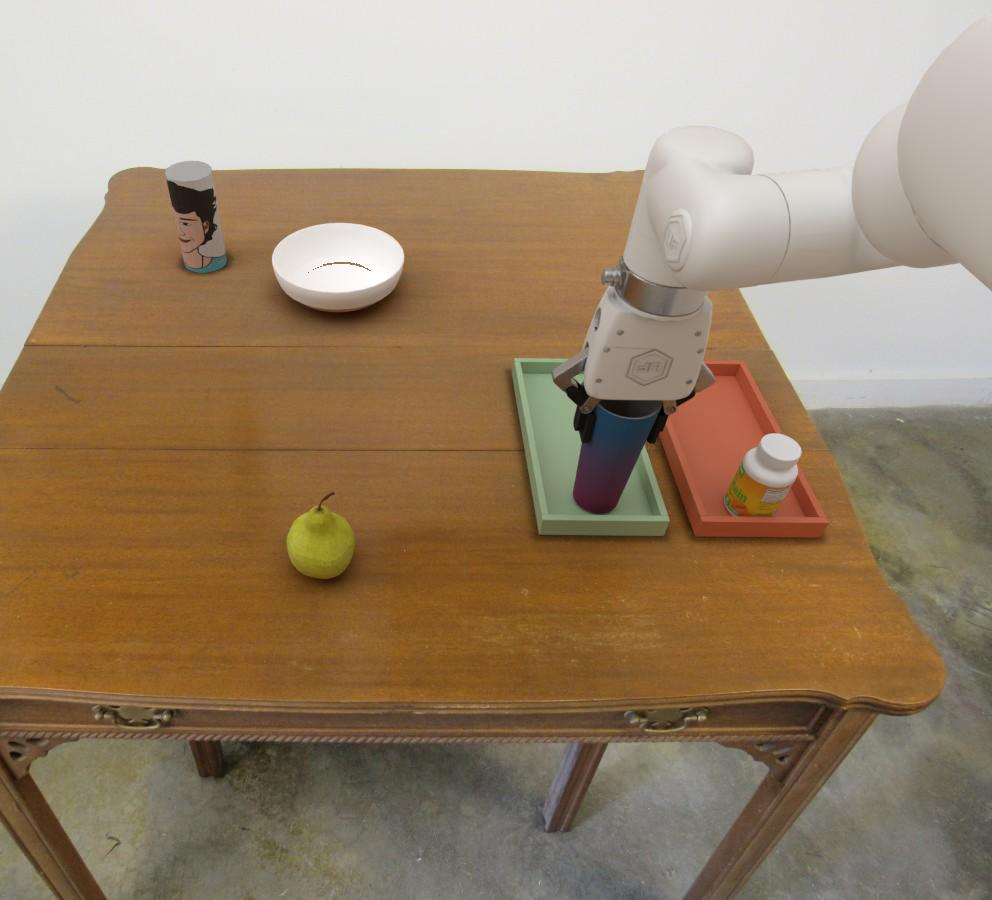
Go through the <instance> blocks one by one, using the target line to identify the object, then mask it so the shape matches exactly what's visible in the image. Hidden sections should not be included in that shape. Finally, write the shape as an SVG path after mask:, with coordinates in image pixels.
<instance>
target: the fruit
mask: <svg viewBox="0 0 992 900" xmlns="http://www.w3.org/2000/svg"><path fill="white" fill-rule="evenodd" d="M335 494H336V493H335V491H331V492H330V493H328V494H326V495H325V496H324V497H323V498H322V499H320V501H319V504H318V505H315V506H312V508H311V509H310V510H309V511H308V512H304V513H302V514H301V515H300V516H298V517H297V518H296V519H294V521H293V522H292V524H291V526H290V528H289V531H288V533H287V536H286V549H287V553H288V558H289V560H290V562H291V564H292V565H293V567H294V568H295V569H296V570H297V571H298V572H300V573H301V574H303V575H304V576H307V577H309V578H313V579H314V578H315V579H320V580H329V579H333V578H335V577H338V576H340V575H342V574H343V573H344V572H345V570H346V569H347V568H348V566H349V565H350V563H351V561H352V559H353V556H354V554H355V553H354V552H355V547H356V535H355V533H354V530H353V528H352V526H351V525H350V523H349V522H348V521H347V520H346V519H345V518H344V517H343V516H341V515H340V514H338V513H337V512H333V511H331V509H330V508H329V507H327V506H326V505H322V503H323V502H325V501H326V500H328V499H329V498H330V497H331V496H334V495H335Z"/></svg>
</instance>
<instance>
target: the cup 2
mask: <svg viewBox="0 0 992 900" xmlns="http://www.w3.org/2000/svg"><path fill="white" fill-rule="evenodd" d="M661 406H662V401H661V400H605V399H602V400H601V401H600V402H599V403H598V404H597V406H596V407H595V408H594V409H593V411H594V413H595V415H596V420H595V424H594V427H593V431H592V434H591V438H590V441H589V442H588V443H582V444H581V450H580V455H579V461H578V466H577V472H576V477H575V483H574V488H573V497H574V500H575V501H576V503H577V504H578V505H579V506H580V507H581V508H583V509H585V510H587V511H589V512H592V513H607V512H610V511H612V510H613V509H614V508H615V507H616V506H617V504H618V502H619V499H620V497H621V495H622V493H623V491H624V488H625V486H626V484H627V482H628V480H629V477H630V475H631V473H632V471H633V469H634V466H635V464H636V462H637V460H638V458H639V455H640V453H641V451H642V449H643V447H644V444H645V445H646V442H647V438H648V436H649V433H650V431H651V429H652V427H653V425H654V422H655V420H656V418H657V416H658V414H659V411H660V409H661Z"/></svg>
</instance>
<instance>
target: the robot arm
mask: <svg viewBox="0 0 992 900" xmlns="http://www.w3.org/2000/svg"><path fill="white" fill-rule="evenodd" d="M754 165H755V155H754V151H753V148H752V147H751V145H750V144H749V143H748V142H747V141H746V140H745V138H743V137H741V136H740V135H738V134H736V133H734V132H732V131H729V130H726V129H723V128H719V127H715V126H709V125H708V126H707V125H683V126H677V127H674V128H672V129H669V130H667V131H666V132H663V133H662V134H661V135H660V136H659V137H658V138H657V139H656V140H655V142H654V144H653V145H652V147H651V149H650V152H649V155H648V158H647V162H646V166H645V170H644V173H643V178H642V181H641V186H640V189H639V193H638V198H637V201H636V204H635V209H634V213H633V216H632V220H631V224H630V228H629V231H628V234H627V239H626V243H625V246H624V251H623V254H622V255H620V256H619V260H618V263H617V264H616V266H615V267H611V268H603V269H602V271H601V277H600V282H601V285H602V286H608V287H607V288H606V290H605V292H604V293H603V295H602V297H601V299H600V301H599V302H598V305H597V307H596V309H595V312H594V314H593V316H592V319H591V322H590V324H589V327H588V329H587V333H586V336H585V339H584V342H583V344H582V348H581V350H580V351H579V352H577V353H576V354H574V355H573V356H571V357H569V358H567V359H568V360H567V361H565V362H564V363H562V364H561V365H559V366H558V367H556V368H555V369H553V370H552V372H551V374H552V378H553V382H554V383H555V384H556V385H557V386H558V387H559V388H560V389H561V390H562V391H564V392H565V393H566V394H567V396H568V397H569V398H570V399H571V400H572V401H573V402H574V403H575V404H576V405H577V408H576V412H575V416H574V420H573V425H574V430H575V431H579V434H580V438H581V442H582V443H588V442H589V441H590V438H591V434H592V431H593V427H594V424H595V420H596V415H595V413H594V411H593V409H594V408H595V407H596V406H597V404H598V403H599V402H600V401H601V400H602V399H605V400H661V401H662V406H661V409H660V411H659V414H658V416H657V418H656V420H655V422H654V425H653V427H652V429H651V431H650V433H649V436H648V438H647V440H646V442H647V443H648V444H650V445H655V444H656V443H657V440H658V437H659V432H662V431H663V429H664V427H665V424H666V421H667V419H668V416H669V415H671V414H673V413H675V412H676V411H677V407H678V406H679V405H681V404H683V403H685V402H686V401H688V400H690V399H692V398H693V397H694V396H695V393H697V392H698V393H699V392H701V391H703V390H704V389H706V388H708V387H710V386H711V385H713V384H714V383H715V381H716V380H715V378H714V376H713V374H712V371H711V370H710V369H709V368H708V367H707V365H706V364H705V363H704V362H703V360H704V358H705V355H706V351H707V346H708V343H709V342H708V341H709V337H710V332H711V331H710V330H711V326H712V319H713V310H714V304H713V302H712V300H711V299H710V297H709V296H708V293H709V292H718V291H728V290H734V289H735V290H736V289H744V288H752V287H753V288H754V287H757V286H765V285H771V284H781V283H788V282H789V283H790V282H796V281H797V282H798V281H807V280H818V279H826V278H832V277H838V276H839V277H840V276H846V275H851V274H858V273H864V272H869V271H877V270H883V269H890V268H896V267H903V266H904V267H907V268H908V267H909V268H913V269H928V268H929V269H930V268H936V267H944V266H951V265H956V264H960V265H961V266H962V267H963V268H964V269H965V270H967V271H968V272H969V273H970V274H971V275H972V276H973V277H975V278H976V279H977V280H978V281H979V282H980V283H982V284H983V285H984V286H985V287H986V288H987V289H988V290H989V291H991V292H992V10H991V11H990V12H988V13H987V14H985V15H983V16H982V17H981V18H979V19H978V20H976V21H974V23H972V24H971V25H969V26H968V27H967V28H966V29H964V31H962V33H960V35H959V36H957V37H955V39H954V40H953V41H952V42H951V43H949V45H947V47H945V48H944V49H943V50H942V51H941V52H940V54H939V55H938V56H937V58H935V60H934V61H933V62H932V64H931V65H930V66H929V67H928V69H927V70H926V71H925V72H924V74H923V75H922V77H921V78H920V80H919V82H918V84H917V85H916V87H915V89H914V90H913V92H912V94H911V95H910V97H909V99H906V100H905V101H903V102H902V103H900V104H898V105H896V106H895V107H894V108H892V109H891V110H890V111H888V112H887V113H886V114H884V115H883V116H882V117H881V118H880V120H879V121H877V123H876V124H875V125H874V126H873V127H872V129H870V131H869V132H868V134H867V135H866V137H864V140H863V142H862V144H861V146H860V148H859V151H858V152H857V155H856V158H855V161H853V162H850V163H847V164H843V165H837V166H832V167H826V168H814V169H813V168H812V169H801V170H790V171H780V172H771V173H770V172H769V173H768V172H767V173H759V174H752V173H753V170H754ZM582 371H584V381H583V382H582V383H581V384H580V383H579V382H578V381H577V380H575V379H573V377H575V376H576V375H578V374H579V373H581V372H582Z"/></svg>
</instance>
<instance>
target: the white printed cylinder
mask: <svg viewBox="0 0 992 900" xmlns="http://www.w3.org/2000/svg"><path fill="white" fill-rule="evenodd" d="M164 175H165V181H166V184H167V190H168V194H169V199H170V204H171V208H172V212H173V213H172V214H173V217H174V222H175V227H176V231H177V236H178V241H179V246H180V250H181V254H182V260H183V264H184V267H185V268H186V269H187V270H189V271H191V272H194V273H197V274H205V273H206V274H207V273H212V272H215V271H218V270H220V269H222V268H224V266H226V264H227V262H228V259H227V252H226V246H225V241H224V234H223V228H222V223H221V217H220V210H219V205H218V199H217V193H216V188H215V180H214V174H213V169H212V166H211V165H210V164H209V163H207V162H204V161H200V160H185V161H180V162H176V163H174V164H171V165H169V166H168V167H167V168H166V169H165V171H164ZM225 255H226V257H225ZM224 258H225V259H224ZM223 259H224V260H223ZM222 260H223V261H222ZM221 261H222V262H221ZM185 262H186V263H187V264H186V263H185ZM219 262H220V263H219ZM188 264H189V265H188ZM209 266H210V267H209Z"/></svg>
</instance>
